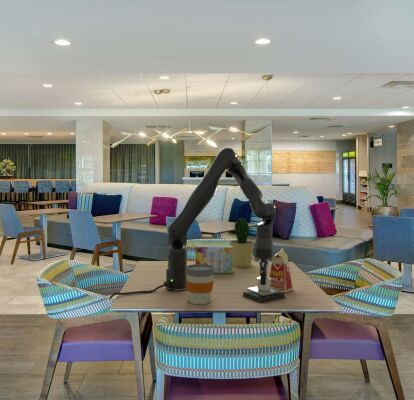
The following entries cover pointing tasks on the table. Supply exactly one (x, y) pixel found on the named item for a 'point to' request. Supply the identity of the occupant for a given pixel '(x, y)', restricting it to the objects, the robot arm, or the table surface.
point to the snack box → (215, 257)
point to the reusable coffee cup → (199, 283)
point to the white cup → (264, 287)
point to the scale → (263, 298)
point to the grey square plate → (256, 290)
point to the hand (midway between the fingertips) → (263, 282)
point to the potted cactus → (242, 245)
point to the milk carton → (280, 272)
